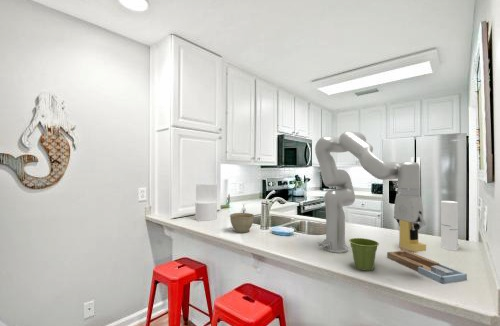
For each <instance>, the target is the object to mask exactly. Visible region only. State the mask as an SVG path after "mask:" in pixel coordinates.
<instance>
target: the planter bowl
mask: <svg viewBox="0 0 500 326" xmlns="http://www.w3.org/2000/svg"><path fill="white" fill-rule="evenodd" d="M229 217H230V224H231V226H232V228H233V229H234V232H236V233H241V234H242V233H248V232H249V231H250V229H251V227H252V225H253V223H254V220H255V218H254V217H255V215H254V214H253V213H250V212H249V213H248V212H235V213H231V214H230V215H229Z"/></svg>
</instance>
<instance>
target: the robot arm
mask: <svg viewBox="0 0 500 326" xmlns="http://www.w3.org/2000/svg"><path fill="white" fill-rule="evenodd" d="M373 151H374V147H373V145H372V144H370V143H369V142H368V141H367V138H366V135H364V134H363V133H361V132H359V131H344V132H343V133H341V134H340V135H339V136H329V135H328V136H323V137H320V138H318V140H317V142H316V143H315V147H314V152H315V156H316V159H317V162H318V166H319V170H320V175H321V179H322V182H323V184H324V186H325V187H328V188H332V189H329V190H327V191H326V192H325V194H324V197H323V201H324V205H325V215H326V216H325V239H324V240H323V241H319V242H317V245H318V247H322V248H323V249H324V250H325V251H326V252H331V253H336V254H337V253H338V254H343V253H347V252H349V247H347V245H346V214H345V211H344V209H343V207H349V206H351V205H353V204H355V201H356V194H355V190H354V186H353V182H352V179H351V176H350V175H349V173H348V172H347V171H346V170H345V169H339V168H337V165H336V161H335V158H334V157H333V156H332V155H331V153H337V154H338V153H339V154H340V153H347V152H348V153H350V154H352V156H353V157H356V159H358V161H359V163H360V165H361V168H363V169H364V170H365V171H366V173H368V174H369V175H371V176H372V177H373V178H375V179H377V180H380V181H383V180H385V181H386V180H397V188H396V192H397V195H396V196H395V200H394V208H393V209H394V211H393V218H394V219H395V221H396V222H397V223H398V226H400V220H403V221H407V222H410V223H411V229H412V230H410V239H411V240H418V241H419V230H420V229H421V228H422V227H424V226H426V224H427V222H426V221H425V219H424V207H423V201H422V200H423V199H422V197H421V189H420V188H421V186H420V185H421V183H420V182H421V177H420V176H421V174H420V173H421V171H420V168H421V167H420V164H419V163H418V162H415V161H414V162H412V161H410V162H407V161H406V162H405V161H404V162H395V161H382V160H381V159H380V158H378V157H377V156H376V155H375V154H373ZM414 223H415V225H414Z"/></svg>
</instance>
